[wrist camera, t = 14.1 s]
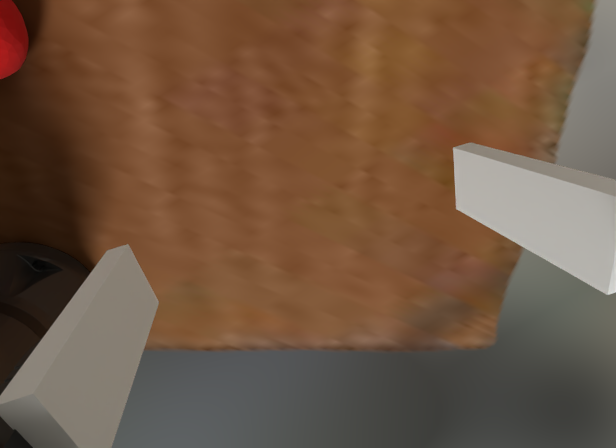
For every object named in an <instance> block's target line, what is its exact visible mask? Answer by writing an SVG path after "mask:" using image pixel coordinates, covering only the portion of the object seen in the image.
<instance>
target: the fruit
mask: <svg viewBox="0 0 616 448" xmlns="http://www.w3.org/2000/svg"><path fill="white" fill-rule="evenodd" d="M28 40H29V39H28V33H27V29H26V26H25V23H24V20H23V17H22V15H21V13H20V12H19V10H18V8H17V6H16V5H15V4H14V2H13V1H12V0H0V79H3V78H5V77H7V76H10V75H11V74H13V73H15V72H16V71H18V70H19V69H20V67H21V66H22V64H23V63H24V61H25V59H26V56H27V51H28Z"/></svg>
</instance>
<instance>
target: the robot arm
mask: <svg viewBox="0 0 616 448" xmlns="http://www.w3.org/2000/svg"><path fill="white" fill-rule="evenodd" d="M453 154H454V174H455V194H456V209H457V210H459V211H461V212H463V213H464V214H466V215H468V216H470V217H471V218H473V219H475V220H477V221H478V222H480V223H482V224H484V225H485V226H487V227H489V228H491V229H493V230H494V231H496V232H498V233H500V234H501V235H503V236H505V237H507V238H508V239H510V240H512V241H514V242H515V243H517V244H519V245H521V246H522V247H524V248H526V249H528V250H530V251H531V252H533V253H535V254H537V255H538V256H540V257H542V258H544V259H545V260H547V261H549V262H551V263H552V264H554V265H556V266H558V267H559V268H561V269H563V270H565V271H567V272H568V273H570V274H572V275H574V276H575V277H577V278H579V279H581V280H582V281H584V282H586V283H588V284H589V285H591V286H593V287H594V288H596V289H598V290H600V291H602V292H604V293H605V294H607V295H609V294H612V293H615V292H616V180H613V179H610V178H606V177H602V176H598V175H595V174H591V173H587V172H583V171H579V170H575V169H571V168H567V167H564V166H560V165H556V164H552V163H548V162H544V161H540V160H536V159H532V158H529V157H525V156H521V155H517V154H513V153H509V152H505V151H501V150H497V149H494V148H490V147H486V146H482V145H478V144H474V143H467V144H464V145H460V146H457V147H454V148H453ZM158 304H159V301H158V300H157V298H156V296H155V294H154V292H153V290H152V288H151V286H150V284H149V283H148V281H147V279H146V277H145V275H144V273H143V271H142V269H141V267H140V266H139V264H138V262H137V260H136V258H135V256H134V254H133V252H132V250H131V249H130V247H129V245H128V244H127V245H124V246H120V247H117V248H114V249H110V250H107V251H106V253H105V254H104V256H103V257H102V258H101V260H100V261H99V262H98V264H97V265H96V266H95V268H94V269H93V270H92V272H91V273H90V272H89V271H88V270H87V269H86V268H85V267H84V266H83V265H82V264H81V263H80V262H78V261H77V260H76V259H74V258H72V257H71V256H69V255H67V254H66V253H63V252H61V251H59V250H57V249H54V248H51V247H48V246H44V245H40V244H34V243H24V242H14V243H4V244H0V448H111V447H112V444H113V441H114V438H115V435H116V432H117V429H118V426H119V422H120V420H121V416H122V414H123V410H124V407H125V404H126V401H127V398H128V395H129V392H130V389H131V386H132V383H133V380H134V377H135V374H136V371H137V368H138V365H139V362H140V359H141V356H142V353H143V350H144V347H145V344H146V341H147V338H148V335H149V332H150V329H151V326H152V322H153V319H154V316H155V313H156V310H157V307H158Z"/></svg>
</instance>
